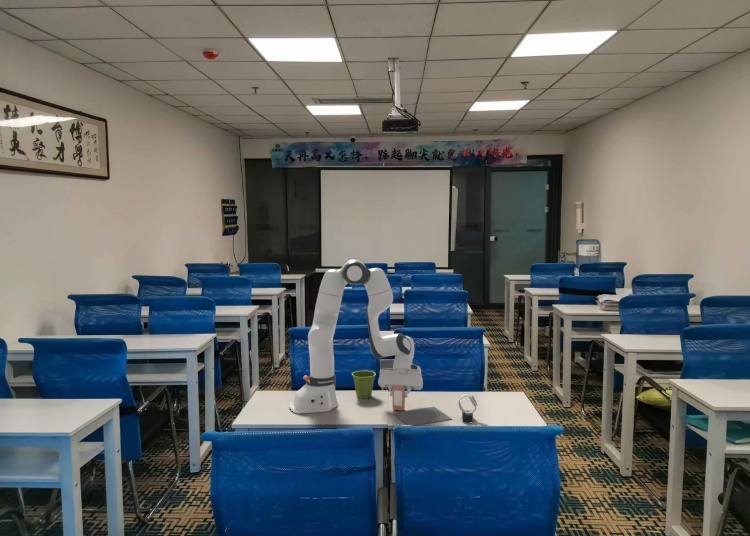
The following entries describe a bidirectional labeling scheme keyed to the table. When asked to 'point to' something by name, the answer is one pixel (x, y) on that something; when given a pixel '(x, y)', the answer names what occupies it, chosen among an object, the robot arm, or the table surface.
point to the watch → (467, 415)
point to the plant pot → (363, 383)
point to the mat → (422, 416)
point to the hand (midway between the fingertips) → (398, 396)
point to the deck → (398, 397)
